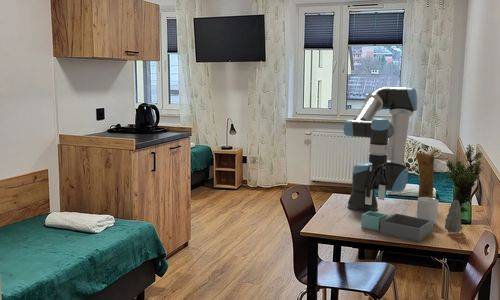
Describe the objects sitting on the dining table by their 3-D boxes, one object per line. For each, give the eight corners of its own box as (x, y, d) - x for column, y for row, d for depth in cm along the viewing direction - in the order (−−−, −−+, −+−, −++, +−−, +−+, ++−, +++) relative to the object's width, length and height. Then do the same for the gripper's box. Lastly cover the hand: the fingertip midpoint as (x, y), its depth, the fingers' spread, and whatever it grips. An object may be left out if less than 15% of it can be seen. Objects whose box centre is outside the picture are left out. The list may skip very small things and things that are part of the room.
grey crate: (379, 233, 203) (380, 221, 202) (394, 225, 216) (395, 213, 215) (418, 242, 193) (419, 229, 192) (432, 233, 206) (433, 220, 205)
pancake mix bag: (423, 210, 244) (428, 156, 240) (411, 201, 263) (415, 150, 259) (436, 210, 244) (441, 156, 240) (423, 201, 263) (427, 151, 259)
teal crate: (361, 227, 211) (361, 214, 210) (368, 223, 217) (369, 211, 216) (378, 231, 206) (379, 218, 205) (385, 227, 212) (386, 214, 211)
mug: (439, 225, 217) (441, 201, 215) (420, 225, 217) (421, 201, 215) (429, 218, 229) (431, 195, 227) (411, 217, 229) (412, 195, 227)
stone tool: (459, 231, 209) (462, 198, 207) (463, 233, 206) (466, 200, 204) (441, 231, 208) (444, 198, 206) (445, 234, 205) (448, 200, 202)
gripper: (374, 157, 195) (370, 208, 197) (397, 152, 214) (394, 198, 217) (357, 155, 199) (354, 205, 202) (381, 150, 219) (378, 196, 221)
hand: (374, 201), depth 209 cm, fingers open, 13 cm apart
